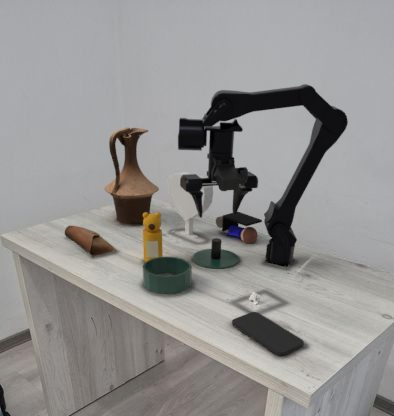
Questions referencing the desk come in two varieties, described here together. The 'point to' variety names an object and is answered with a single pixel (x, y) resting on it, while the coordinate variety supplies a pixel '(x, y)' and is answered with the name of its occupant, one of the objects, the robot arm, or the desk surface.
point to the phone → (268, 333)
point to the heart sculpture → (187, 201)
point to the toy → (152, 236)
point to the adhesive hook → (254, 297)
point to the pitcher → (129, 180)
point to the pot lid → (215, 257)
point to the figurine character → (232, 228)
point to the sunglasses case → (89, 240)
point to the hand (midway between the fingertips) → (217, 215)
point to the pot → (167, 283)
